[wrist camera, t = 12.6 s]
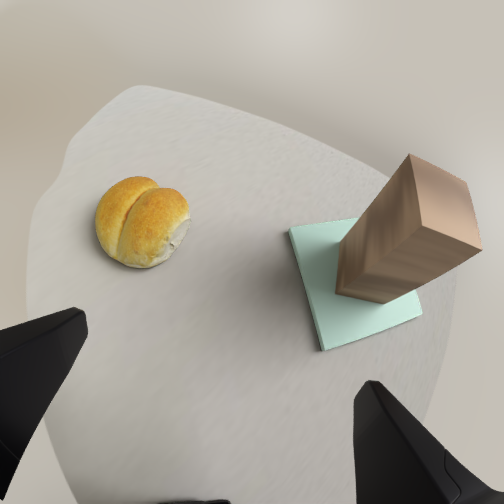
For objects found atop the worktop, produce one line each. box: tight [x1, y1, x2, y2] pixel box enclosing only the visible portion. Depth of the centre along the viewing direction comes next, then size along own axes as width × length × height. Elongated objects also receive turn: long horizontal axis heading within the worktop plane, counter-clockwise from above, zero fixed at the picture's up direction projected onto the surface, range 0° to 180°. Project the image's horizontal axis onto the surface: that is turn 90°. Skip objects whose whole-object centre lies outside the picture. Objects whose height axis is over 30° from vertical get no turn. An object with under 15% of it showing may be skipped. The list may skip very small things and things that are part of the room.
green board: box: [288, 217, 423, 351], centre depth 23 cm, size 11×11×1 cm
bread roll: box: [95, 177, 191, 268], centre depth 22 cm, size 8×9×4 cm
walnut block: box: [335, 154, 482, 304], centre depth 17 cm, size 5×5×12 cm
